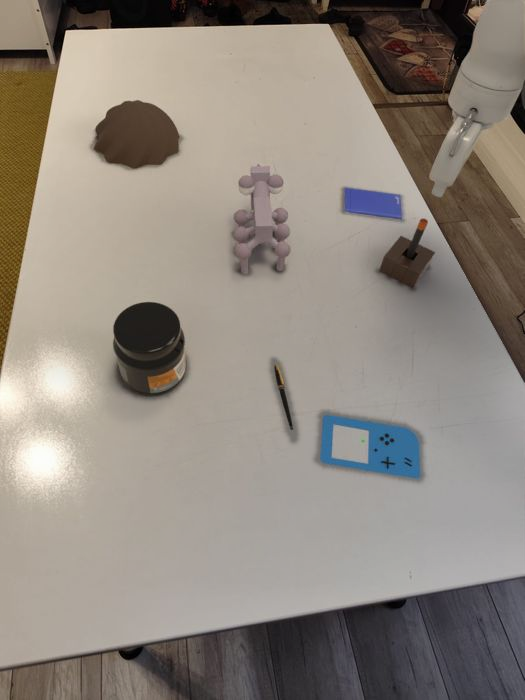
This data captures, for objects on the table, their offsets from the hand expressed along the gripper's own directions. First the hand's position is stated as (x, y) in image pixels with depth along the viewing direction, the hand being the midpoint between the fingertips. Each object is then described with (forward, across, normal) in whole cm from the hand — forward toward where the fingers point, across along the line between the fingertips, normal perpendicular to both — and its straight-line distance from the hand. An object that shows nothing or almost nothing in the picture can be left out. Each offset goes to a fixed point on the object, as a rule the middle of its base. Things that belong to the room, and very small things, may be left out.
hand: (446, 178), depth 84 cm
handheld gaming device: (+22, -38, -8) cm, 45 cm away
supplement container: (+23, -45, +27) cm, 57 cm away
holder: (+22, 0, 0) cm, 22 cm away
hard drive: (+22, +16, +13) cm, 30 cm away
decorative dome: (+23, +4, +68) cm, 71 cm away
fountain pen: (+23, -38, +7) cm, 45 cm away
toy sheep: (+23, -8, +28) cm, 37 cm away
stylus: (+22, 0, 0) cm, 22 cm away
